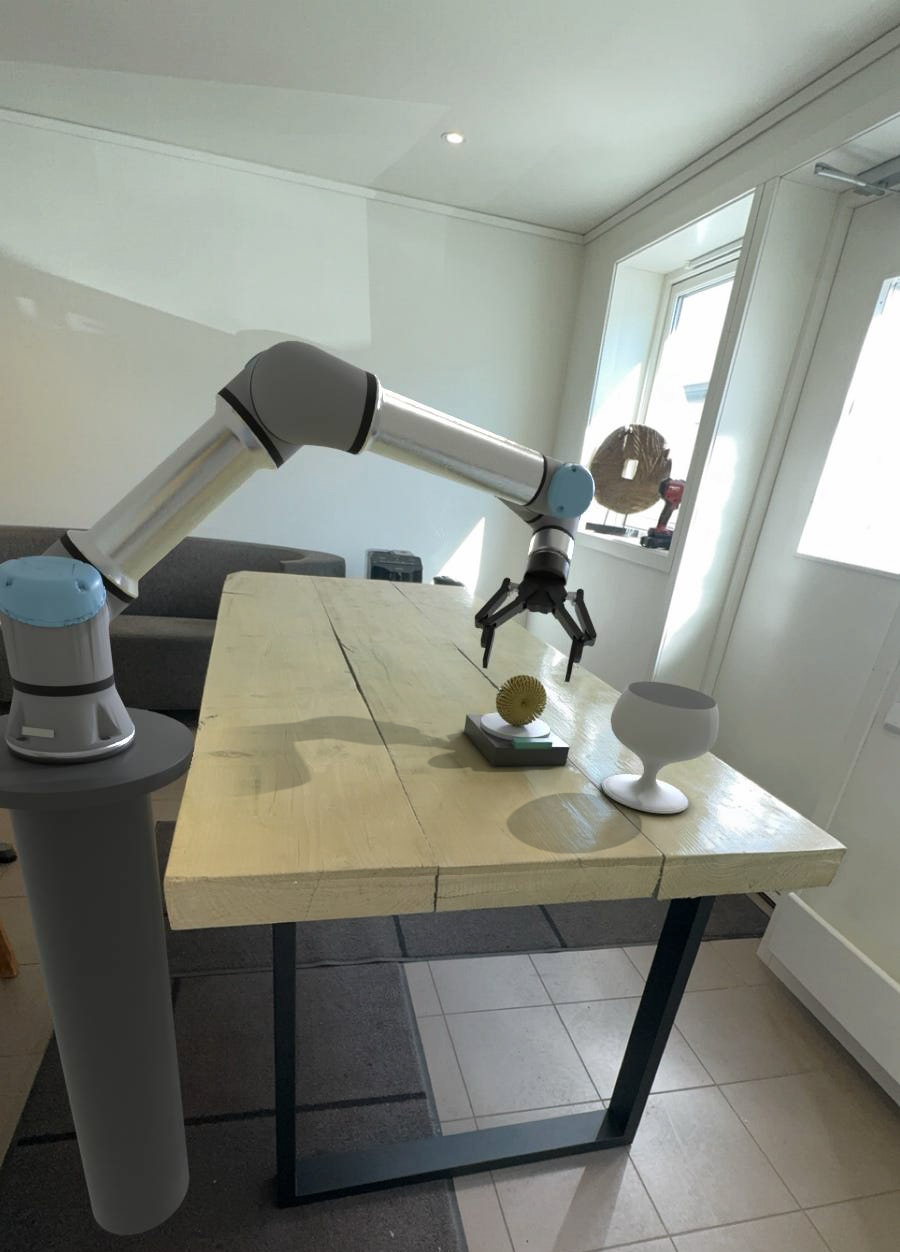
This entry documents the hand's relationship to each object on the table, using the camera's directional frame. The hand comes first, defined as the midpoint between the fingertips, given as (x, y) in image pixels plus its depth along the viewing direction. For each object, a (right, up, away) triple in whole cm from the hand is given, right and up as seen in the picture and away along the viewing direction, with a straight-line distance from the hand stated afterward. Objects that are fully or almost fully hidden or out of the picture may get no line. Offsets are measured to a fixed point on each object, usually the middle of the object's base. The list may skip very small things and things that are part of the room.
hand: (526, 671), depth 107 cm
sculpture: (-2, -9, -3) cm, 10 cm away
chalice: (+15, -20, -13) cm, 29 cm away
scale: (-2, -13, -2) cm, 13 cm away
